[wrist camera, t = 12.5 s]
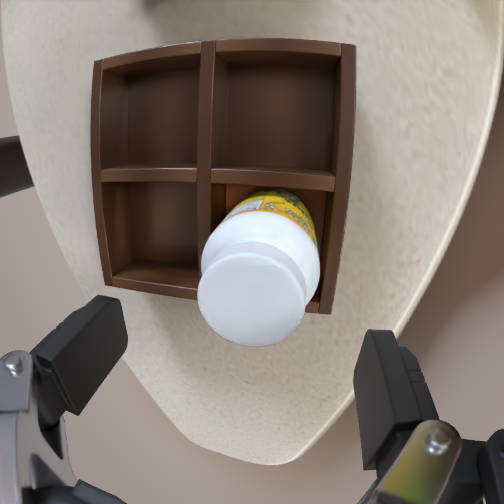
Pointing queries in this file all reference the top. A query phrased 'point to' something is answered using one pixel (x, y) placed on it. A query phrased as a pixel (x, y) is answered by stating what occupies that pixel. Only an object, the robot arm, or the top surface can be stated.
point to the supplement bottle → (260, 269)
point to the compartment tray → (217, 151)
